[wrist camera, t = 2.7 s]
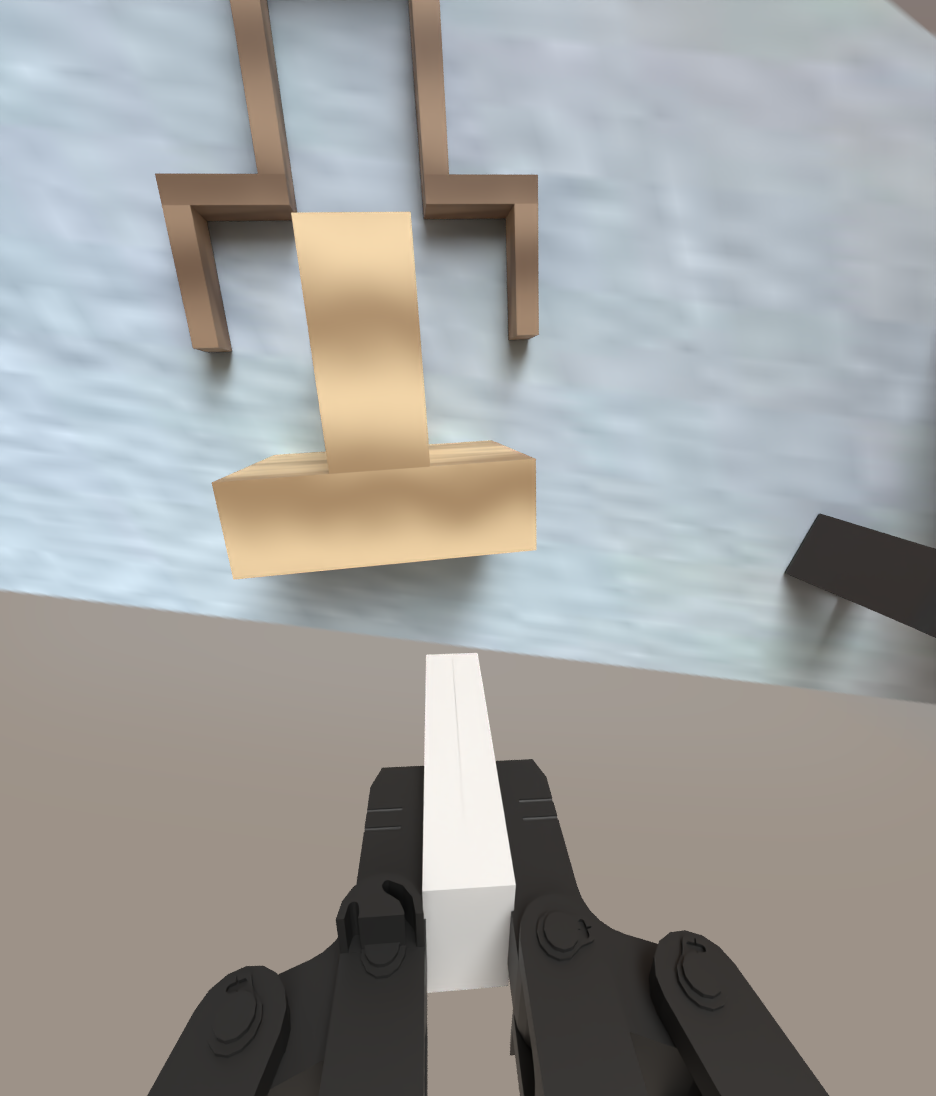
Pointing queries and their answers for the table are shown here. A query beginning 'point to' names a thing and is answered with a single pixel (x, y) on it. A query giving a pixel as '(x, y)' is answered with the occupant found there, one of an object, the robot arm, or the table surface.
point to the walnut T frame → (273, 191)
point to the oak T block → (371, 431)
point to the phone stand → (871, 570)
